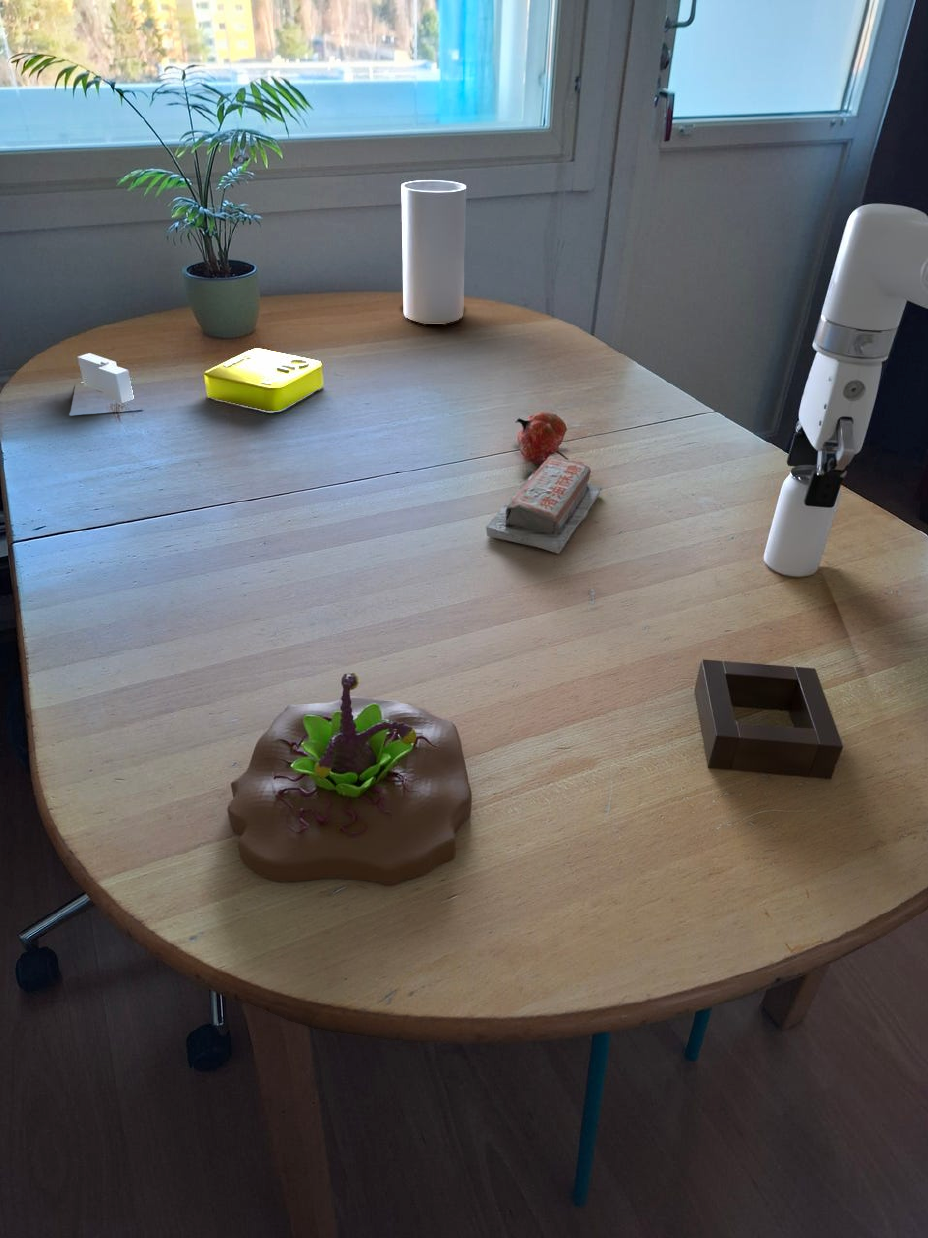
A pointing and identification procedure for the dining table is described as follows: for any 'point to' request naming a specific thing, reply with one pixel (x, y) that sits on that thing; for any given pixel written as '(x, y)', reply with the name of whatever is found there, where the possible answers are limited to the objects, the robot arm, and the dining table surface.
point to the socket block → (766, 746)
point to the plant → (351, 792)
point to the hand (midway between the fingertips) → (808, 484)
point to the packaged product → (547, 506)
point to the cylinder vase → (433, 250)
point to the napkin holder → (106, 377)
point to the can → (798, 528)
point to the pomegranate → (540, 436)
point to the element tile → (264, 379)
